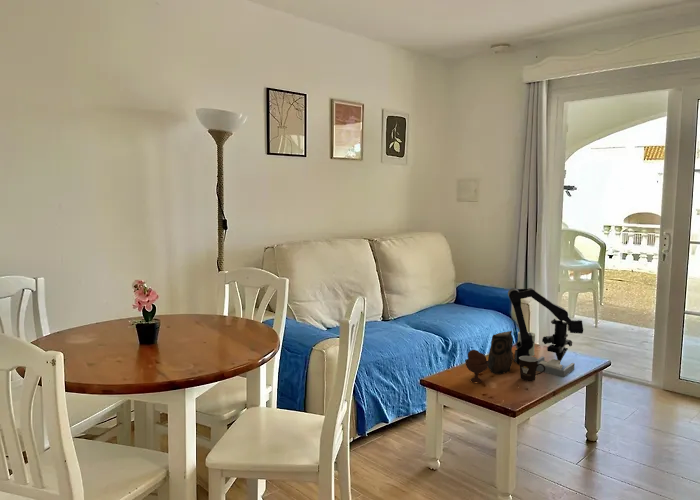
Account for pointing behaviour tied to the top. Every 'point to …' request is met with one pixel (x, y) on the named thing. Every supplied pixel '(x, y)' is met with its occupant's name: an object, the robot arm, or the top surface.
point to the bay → (554, 370)
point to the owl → (501, 353)
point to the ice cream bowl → (476, 364)
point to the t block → (552, 363)
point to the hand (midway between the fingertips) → (559, 361)
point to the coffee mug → (528, 367)
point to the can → (533, 343)
